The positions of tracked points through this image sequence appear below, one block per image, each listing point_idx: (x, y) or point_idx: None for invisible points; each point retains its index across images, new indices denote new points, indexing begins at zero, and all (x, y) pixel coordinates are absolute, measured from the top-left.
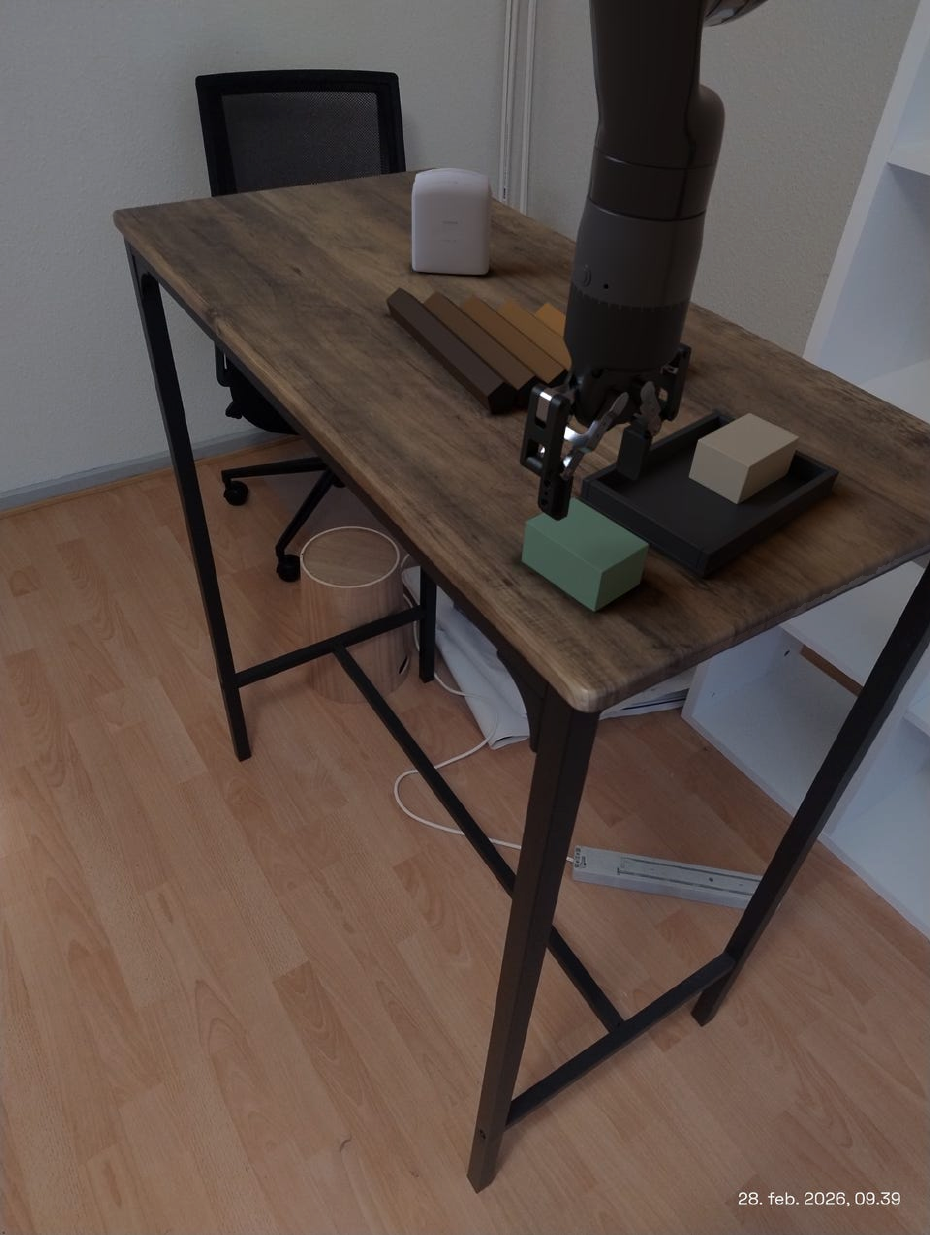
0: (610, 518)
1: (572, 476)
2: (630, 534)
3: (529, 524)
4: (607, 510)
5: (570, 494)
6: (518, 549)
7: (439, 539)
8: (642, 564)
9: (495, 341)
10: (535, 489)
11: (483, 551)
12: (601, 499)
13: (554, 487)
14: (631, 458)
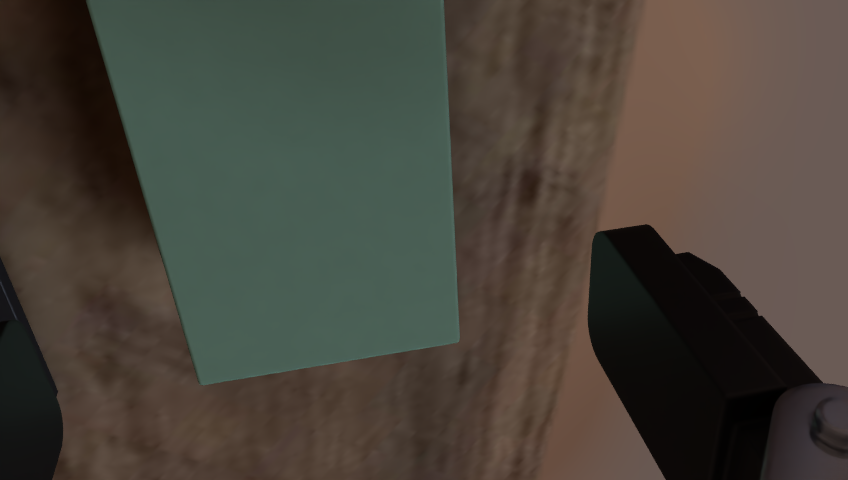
0: (6, 283)
1: (729, 402)
2: (131, 98)
3: (458, 327)
4: (7, 314)
5: (670, 310)
6: None
7: (545, 401)
8: None
9: None
10: (159, 477)
11: (485, 322)
12: None
13: (807, 371)
14: (6, 451)
